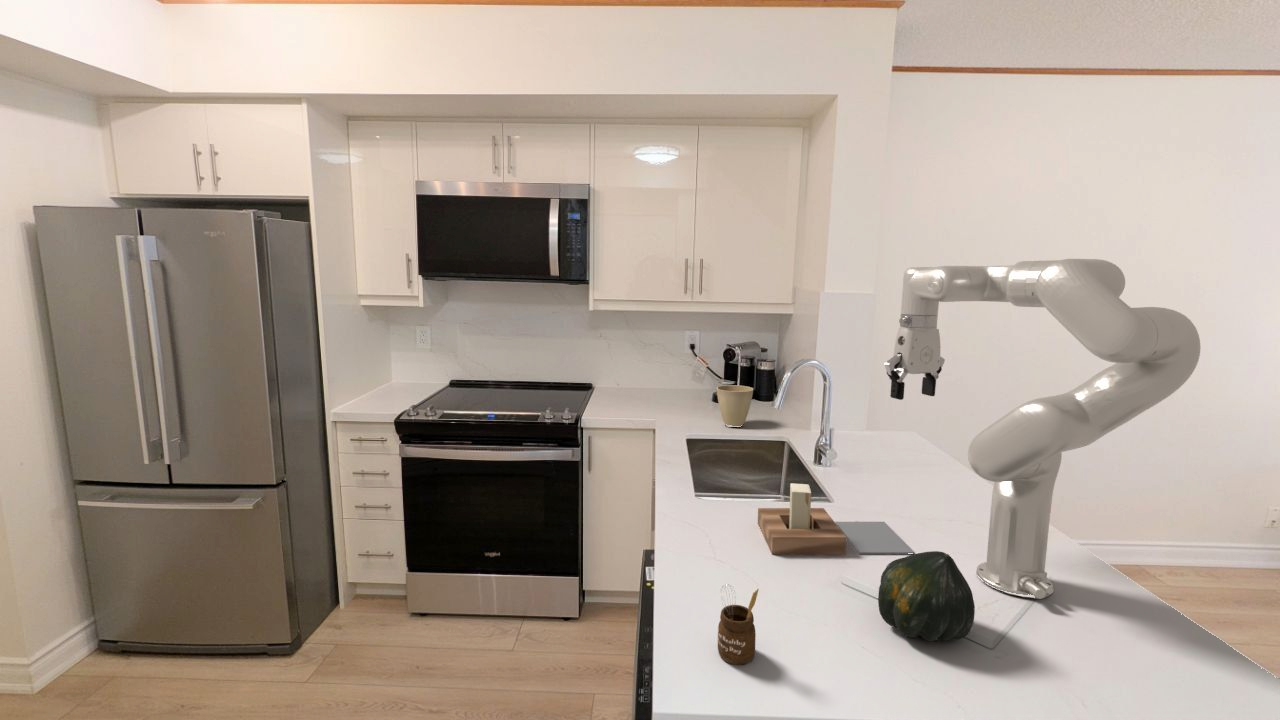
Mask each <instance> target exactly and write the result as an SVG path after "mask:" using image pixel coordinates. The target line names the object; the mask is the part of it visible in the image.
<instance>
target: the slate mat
mask: <svg viewBox="0 0 1280 720" xmlns="http://www.w3.org/2000/svg"><path fill="white" fill-rule="evenodd" d="M834 522H835V523H836V525H837V526H838V527H839V528H840V530H841V531H842V532H843V533H844V535H845V536H846V540H847V541H848V542H849V543H850V544H851V546H852V547H853V548H854V549H855V551H856V553H857V554H858V555H865V556H866V555H867V556H868V555H871V556H873V555H876V554H878V555H879V556H880V555H881V554H908V553H913V554H916V553H915V551H914V550H913V549H912V548H911V547H910V546H909V545H908V544H907V543H906V542H905V541H904V540H903V539H902V538H901V537H900V536H899V535H898V534H897V533H896V532H895V530H894V529H892V528H891V526H889V525H888V523H886V522H885V521H834ZM876 556H877V555H876Z"/></svg>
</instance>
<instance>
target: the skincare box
mask: <svg viewBox="0 0 1280 720" xmlns="http://www.w3.org/2000/svg"><path fill="white" fill-rule="evenodd" d="M789 489H790V490H789V508H790V515H789V529H810V509H811V508H812V507H811V505H812V503H811V502H812V491H811V488H810V485H809V484H806V483H805V484H804V483H793V482H792V483H790V486H789Z"/></svg>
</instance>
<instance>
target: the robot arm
mask: <svg viewBox="0 0 1280 720" xmlns="http://www.w3.org/2000/svg"><path fill="white" fill-rule="evenodd" d="M1125 277H1126V276H1125V274H1124V272H1123V271H1122V269H1121V268H1120V267H1119V265H1116V264H1115V263H1113V262H1111V261H1108V260H1104V259H1097V258H1065V259H1064V258H1063V259H1060V260H1059V259H1057V260H1025V261H1024V260H1023V261H1022V260H1021V261H1018V262H1016V263H1015V264H1014V265H1012V264H1011V265H987V266H986V265H985V266H984V265H979V266H978V265H977V266H976V265H940V266H935V267H933V266H917V267H913V266H911V267H908V268H906V269H905V271H904V273H903V277H902V278H903V279H902V292H901V293H902V294H901V295H902V296H901V308H900V318H899V320H898V321H899V322H898V323H899V328H898V330H897V334H896V338H895V344H894V349H893V356H892V357H891V358H889V359H888V360H886V361H885V362H884V367H885V370H886V375H887V376H888V379H889V381H891V382H890V385H891V386H890V398H892V399H896V400H900V401H902V400H903V399H904V396H905V385H906V384H905V382H904V380H905V378H906V377H907V375H908V374H909V375H919V374H923V375H924V376H923V377H922V383H921V394H922V395H924V396H928V397H935V395H936V387H937V380H938V379H939V376H940V375H939V374H940V373H941V372H942V369H943V366H944V363H945V358H943V357H942V356H941V335H940V330H939V328H937V327H938V319H939V305H940V303H942V302H943V303H950V302H951V303H953V302H954V303H955V302H998V303H999V302H1000V303H1010V304H1012V305H1013V306H1015V307H1021V308H1023V307H1024V308H1044V309H1046V310H1047V311H1048V312H1049V313H1050V314H1051V316H1052V317H1054V318H1055V319H1056V320H1057V321H1058V322H1059V323H1060V324H1061V325H1062V326H1063V327H1064V328H1065V329H1066V330H1067V331H1068V332H1069V333H1070V334H1071V335H1072V336H1073V337H1074V338H1075V339H1076V340H1077V341H1078V342H1079V343H1080V345H1082V346H1083V347H1084V348H1085V349H1086V350H1088V351H1089V352H1090V353H1091V354H1092V355H1094V356H1095V357H1097V358H1099V359H1101V360H1104V361H1106V362H1109V363H1112V365H1110V366H1108V367H1107V368H1105V369H1103V370H1101V371H1100V372H1098V373H1096V374H1095V375H1093V376H1092V377H1091V378H1089V379H1088V380H1086V381H1085V382H1083V383H1081V384H1080V385H1078V386H1077V387H1075V388H1073V389H1071V390H1070V391H1068V392H1065V393H1062V394H1057V395H1052V396H1051V395H1050V396H1044V397H1040V398H1034V399H1031V400H1029V401H1026V402H1024V403H1022V404H1020V405H1019V406H1017V407H1015V408H1013V409H1012V410H1011V411H1009V412H1008V413H1006V414H1005V415H1003V416H1002V417H1001V418H999V419H998V420H996V421H995V422H993V423H992V424H990V425H988V426H987V427H986V428H984V429H983V430H982V431H980V432H979V433H978V434H976V435H975V437H974V438H973V439H972V440H971V442H970V444H969V446H968V450H967V460H968V462H969V465H970V468H971V469H972V470H973V472H974V473H976V475H978V476H979V477H981V478H982V479H984V480H987V481H990V482H994V484H993V489H992V492H991V493H992V494H991V501H990V502H991V504H990V514H989V515H990V516H989V527H988V541H987V552H986V553H987V554H986V561H984V562H982V563H980V564H978V565H977V567H976V576H977V575H978V576H979V577H980V578H981V579H982V580H983V581H984V582H986V583H988V584H989V585H991V586H993V587H995V588H997V589H1000V590H1003V591H1007V592H1011V593H1016V594H1023V595H1028V594H1029V595H1030V594H1031V595H1034V596H1035V598H1034V599H1037V600H1041V599H1045V598H1048V597H1050V596H1051V595H1052V594H1053V593H1054V585H1053V583H1052V581H1051V580H1050V578H1048V572H1046V571H1045V570H1046V562H1047V561H1046V560H1047V552H1048V541H1049V540H1048V539H1049V530H1050V529H1049V528H1050V521H1051V519H1050V518H1051V511H1052V504H1053V503H1052V502H1053V494H1054V488H1055V483H1056V480H1057V477H1058V474H1059V470H1060V467H1061V464H1062V454H1063V452H1068V451H1072V450H1076V449H1079V448H1080V449H1081V448H1084V447H1087V446H1090V445H1092V443H1093V444H1094V443H1095V442H1096V441H1097V440H1100V439H1101V438H1102V437H1104V436H1106V435H1107V434H1109V433H1110V432H1112V431H1114V430H1116V429H1118V428H1119V427H1121V426H1123V425H1124V424H1126V423H1128V422H1129V421H1132V420H1133V419H1134V418H1135V417H1137V416H1139V415H1141V414H1142V413H1144V412H1146V411H1147V410H1150V409H1151V408H1153V407H1154V406H1156V405H1158V404H1159V403H1161V402H1162V401H1164V400H1165V399H1167V398H1168V397H1170V396H1171V395H1173V394H1175V393H1176V392H1177V390H1179V389H1180V388H1181V387H1182V386H1184V385H1185V383H1186V382H1187V381H1188V380H1189V379H1190V378H1191V377H1192V374H1193V373H1194V372H1195V369H1196V368H1197V366H1198V363H1199V359H1200V356H1201V340H1200V335H1199V332H1198V329H1197V327H1196V326H1195V324H1194V323H1193V322H1192V320H1191V319H1190V318H1189V317H1187V316H1186V315H1185V314H1183V313H1182V312H1179V311H1177V310H1174V309H1170V308H1167V307H1161V306H1160V307H1158V306H1157V307H1156V306H1143V307H1131V306H1130V305H1128V304H1127V303H1126V302H1124V300H1123V299H1121V298H1120V297H1121V296H1122V294H1123V292H1124V291H1125V287H1126V279H1125ZM978 576H977V577H978ZM1034 599H1033V600H1034Z"/></svg>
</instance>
